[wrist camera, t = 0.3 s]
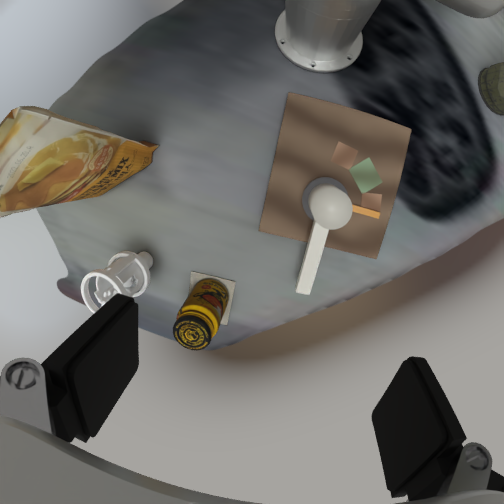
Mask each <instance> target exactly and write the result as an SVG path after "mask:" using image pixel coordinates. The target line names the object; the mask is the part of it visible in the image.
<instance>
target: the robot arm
mask: <svg viewBox="0 0 504 504" xmlns="http://www.w3.org/2000/svg"><path fill="white" fill-rule="evenodd" d="M380 1H381V0H285V10H284V11H283V12H282V13H281V15H280V16H279V18H278V19H277V22H276V25H275V38H276V42H277V45H278V47H279V49H280V50H281V52H282V53H283V54H284V56H285V57H286V58H287V59H289V60H290V61H291V62H292V63H294V64H295V65H297V66H299V67H301V68H303V69H305V70H309V71H312V72H319V73H331V72H336V71H340V70H342V69H345V68H346V67H348V66H349V65H351V64H352V63H353V62H354V61H355V60H356V59H357V57H358V56H359V54H360V52H361V49H362V45H363V37H362V32H361V31H362V29H363V27H364V26H365V24H366V23H367V21H368V20H369V18H370V17H371V15H372V14H373V12H374V11H375V9H376V8H377V6H378V5H379V3H380ZM436 1H438V2H440V3H442V4H444V5H446V6H448V7H450V8H452V9H454V10H456V11H457V12H460V13H462V14H464V15H467V16H470V17H474V18H487V17H491V16H493V15H495V14H497V13H498V12H499V11H500V10H501V9H502V8H503V7H504V0H436ZM282 42H284V43H285V44H281V43H282ZM347 58H350V60H348V59H347ZM311 65H314V66H315V67H314V68H313V67H311ZM138 356H139V355H138V304H137V303H134V299H133V298H132V297H129V296H126V295H123V294H120V293H117V294H115V295H114V296H113V297H112V298H111V299H110V300H109V301H107V302H106V303H105V304H104V305H103V306H102V307H101V308H100V309H99V310H98V311H96V312H95V313H94V314H93V315H92V316H91V317H90V318H89V319H88V320H87V321H86V322H85V323H83V324H82V325H81V326H80V327H79V328H78V329H77V330H76V331H75V332H74V333H73V334H72V335H71V336H69V338H68V339H66V340H65V341H64V342H63V343H62V344H61V345H60V346H59V347H58V348H57V349H56V350H55V351H54V352H53V353H52V354H51V355H50V356H49V357H48V358H47V359H46V360H45V361H44V362H43V363H42V364H41V365H40V363H38V362H37V361H35V360H33V359H30V358H18V359H14V360H12V361H10V362H9V363H7V364H6V365H5V367H4V368H3V370H2V373H1V376H0V504H259V503H252V502H245V501H240V500H233V499H229V498H223V497H219V496H213V495H209V494H205V493H201V492H196V491H192V490H189V489H185V488H182V487H178V486H175V485H171V484H168V483H165V482H162V481H159V480H155V479H152V478H150V477H147V476H144V475H141V474H139V473H136V472H133V471H131V470H128V469H126V468H123V467H121V466H118V465H116V464H113V463H111V462H108V461H106V460H104V459H102V458H99V457H97V456H95V455H93V454H91V453H88V452H87V451H85V450H82V449H80V448H78V447H77V446H75V445H72V444H70V442H72V440H73V439H74V438H75V437H76V438H77V439H79V440H81V441H83V442H85V443H86V442H87V440H88V439H89V437H90V436H91V437H95V436H96V434H97V433H98V431H99V430H100V428H101V427H102V425H103V423H104V422H105V420H106V419H107V417H108V415H109V414H110V412H111V410H112V409H113V407H114V406H115V404H116V403H117V401H118V399H119V398H120V396H121V395H122V393H123V391H124V390H125V388H126V387H127V385H128V384H129V382H130V381H131V379H132V378H133V376H134V374H135V373H136V371H137V369H138V365H139V357H138ZM372 422H373V426H374V430H375V435H376V439H377V443H378V447H379V452H380V456H381V461H382V465H383V470H384V475H385V480H386V485H387V489H388V490H389V491H391V496H392V498H395V497H403V496H405V495H408V500H407V501H406V502H403V503H396V504H504V477H503V476H502V475H500V474H498V473H496V472H495V471H493V470H491V467H492V458H491V455H490V453H489V451H488V450H487V449H486V448H485V447H484V446H482V445H481V444H478V443H473V442H471V443H468V444H466V445H465V446H464V447H463V446H462V443H463V442H464V440H466V436H465V433H464V431H463V429H462V427H461V425H460V423H459V421H458V419H457V417H456V415H455V413H454V411H453V409H452V407H451V405H450V403H449V401H448V399H447V397H446V395H445V393H444V391H443V390H442V388H441V386H440V384H439V382H438V380H437V379H436V377H435V375H434V373H433V372H432V370H431V368H430V366H429V364H428V363H427V361H426V359H425V358H421V357H409V358H408V359H407V360H405V361H403V363H402V364H401V366H400V368H399V370H398V371H397V373H396V375H395V377H394V378H393V380H392V382H391V383H390V385H389V387H388V388H387V390H386V391H385V393H384V395H383V396H382V398H381V399H380V401H379V402H378V404H377V406H376V407H375V409H374V410H373V413H372Z"/></svg>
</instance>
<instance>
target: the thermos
mask: <svg viewBox="0 0 504 504" xmlns="http://www.w3.org/2000/svg"><path fill="white" fill-rule="evenodd" d="M478 86H479V91H480V94H481V96H482V99H483V101H484V102H485V104H486V105H487V107H488V108H489V109H490V110H491V111H492V112H494V113H496V114H498V115H504V62H502V63H498V64H495V65H492V66H490V67H489V68H485V69H483V70H482V71H481V72H480V74H479V77H478Z"/></svg>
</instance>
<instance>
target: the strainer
mask: <svg viewBox="0 0 504 504" xmlns="http://www.w3.org/2000/svg"><path fill="white" fill-rule="evenodd" d="M118 257H120V258H119V259H118V260H116V259H117V258H118ZM115 260H116V261H115ZM152 265H153V258H152V256H151V255H150V254H149V253H148V252H145V251H143V252H140V253H139V254H138V255H137V254H136V253H134V252H131V251H122V252H119V253H117V254H116V255H114V256H113V257H112V258H111V259H110V261H109V263H108V267H107V268H105V269H104V270H103V269H96V270H93V271H92V272H90V273H89V274H87V275H86V276H85V277H84V279H83V280H82V284H81V293H82V297H83V300H84V302H85V304H86V305H87V307H88V308H89V310H90V311H91V312H92V313H93V314H94V313H95V312H96V311H98V310H99V309H100V308H101V307H102V306H103V305H104V304H105V303H106V302H107V301H109V300H110V299H111V298H112V297H113V296H114V295H115V294H117V293H120V294H123V295H126V296H129V297H136V296H139V295H141V294H142V293H143V292H144V291H145V290H146V289H147V288H148V286H149V283H150V271H149V268H150V267H151V266H152ZM92 276H97V278H96V288H97V291H95V292H94V294H95V296H96V298H97V299H98V302H99V303H101V304H102V306H101V307H100V308H98V307H97V306H96V305H95V304H94V302H93V301H92V299H91V297H90V294H89V291H88V282H89V279H90V278H91V277H92ZM134 282H135V283H136V286H135V287H130V286H131V285H132V284H133V283H134ZM143 285H144V286H143ZM142 286H143V288H142V289H141V290H139V289H140V288H141V287H142Z"/></svg>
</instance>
